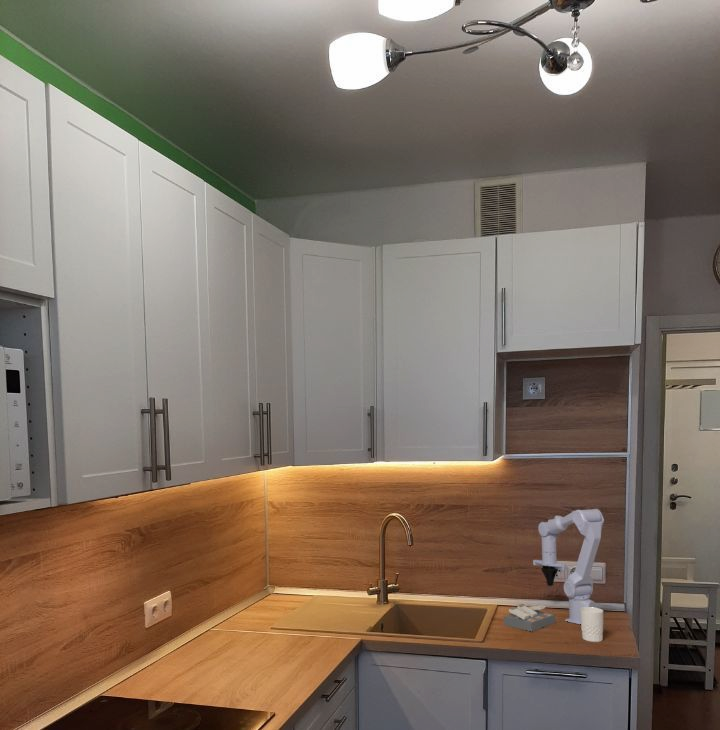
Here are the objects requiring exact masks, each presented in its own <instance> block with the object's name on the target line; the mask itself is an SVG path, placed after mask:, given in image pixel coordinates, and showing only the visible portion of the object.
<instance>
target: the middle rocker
mask: <svg viewBox="0 0 720 730" xmlns="http://www.w3.org/2000/svg"><path fill="white" fill-rule="evenodd" d="M516 608H517V609H519V610H520V611H522V612H524V613H526V614H528V615H529V616H531V617H535V616H537V612H535V611H533V610H532V609H530V608H528V606H527V605H525V604H523V603H521V604H518V605H517V607H516Z"/></svg>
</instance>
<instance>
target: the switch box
mask: <svg viewBox="0 0 720 730" xmlns="http://www.w3.org/2000/svg"><path fill="white" fill-rule="evenodd" d="M533 611H535V612H537V616H535V617H531V616H529V618H528V619H525V620H523V619H522V618H520V617H518V616H516V615H514V614H512V613H510V614H507V615H503V620H504V621H503V625H504V626H507V627H510V626H511V628H514V627H515V628H514V629H518V628H519V629H518V630H522V629H524V630H523V631H525V630H528V631H527V632H529V631H531V633H533V632H535V631H534V630H536V631H538V630H537V629H539V630H541V629H543V628H542V627H544V628H546V627H545V626H547V627H549V626H548V625H550V624H552V625H554V624H553V623H555V624H556V615H555V614H554V613H550V612H544V611H540V610H533ZM550 626H551V625H550ZM540 628H541V629H540ZM532 631H533V632H532Z"/></svg>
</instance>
